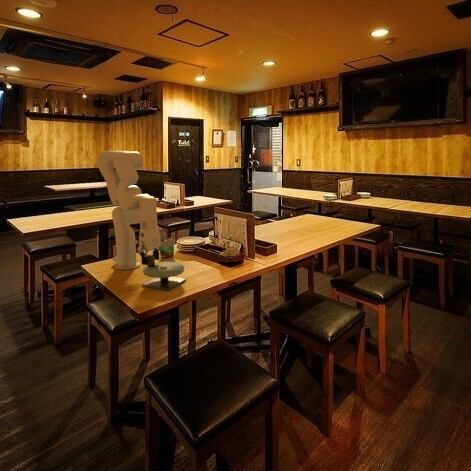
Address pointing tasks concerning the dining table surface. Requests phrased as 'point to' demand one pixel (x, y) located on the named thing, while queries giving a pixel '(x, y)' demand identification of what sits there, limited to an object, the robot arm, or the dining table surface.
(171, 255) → the food container
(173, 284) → the wheel stand
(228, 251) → the decorative item
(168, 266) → the handwheel
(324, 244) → the dining table surface
